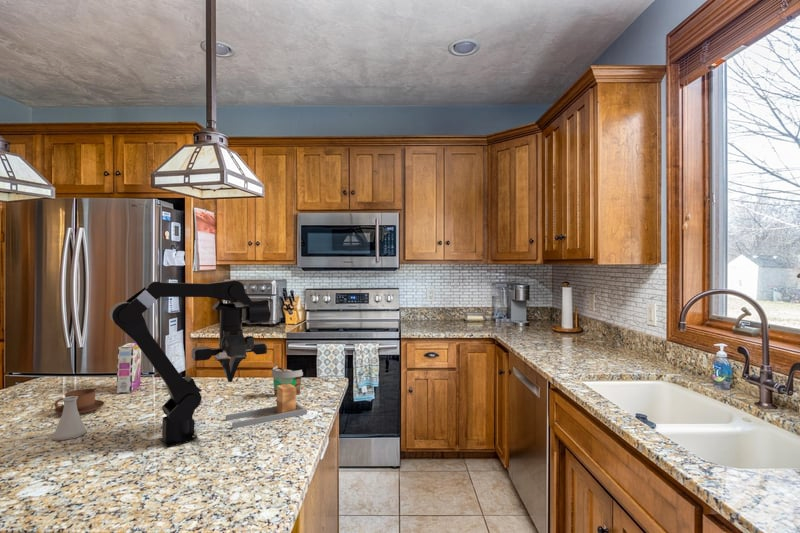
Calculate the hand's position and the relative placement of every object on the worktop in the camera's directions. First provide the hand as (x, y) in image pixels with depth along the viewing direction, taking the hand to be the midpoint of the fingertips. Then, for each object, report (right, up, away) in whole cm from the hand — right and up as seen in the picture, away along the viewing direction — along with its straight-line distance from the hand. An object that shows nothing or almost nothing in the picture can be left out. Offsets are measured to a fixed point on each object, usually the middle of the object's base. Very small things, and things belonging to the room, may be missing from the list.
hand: (229, 381), depth 115 cm
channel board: (+9, -13, +6) cm, 17 cm away
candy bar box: (-52, -13, +37) cm, 65 cm away
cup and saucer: (-51, -13, +13) cm, 55 cm away
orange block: (+13, -12, +9) cm, 20 cm away
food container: (+7, -14, +28) cm, 32 cm away
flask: (-40, -13, -6) cm, 42 cm away
